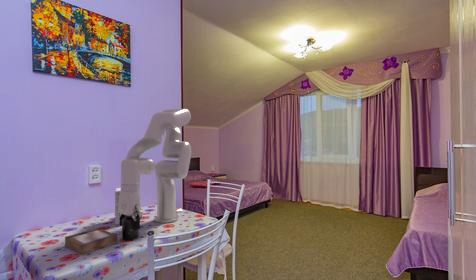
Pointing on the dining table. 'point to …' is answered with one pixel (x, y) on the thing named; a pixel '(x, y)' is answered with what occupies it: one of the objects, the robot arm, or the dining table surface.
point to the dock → (90, 240)
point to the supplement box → (117, 217)
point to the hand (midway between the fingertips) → (129, 227)
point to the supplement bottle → (129, 229)
